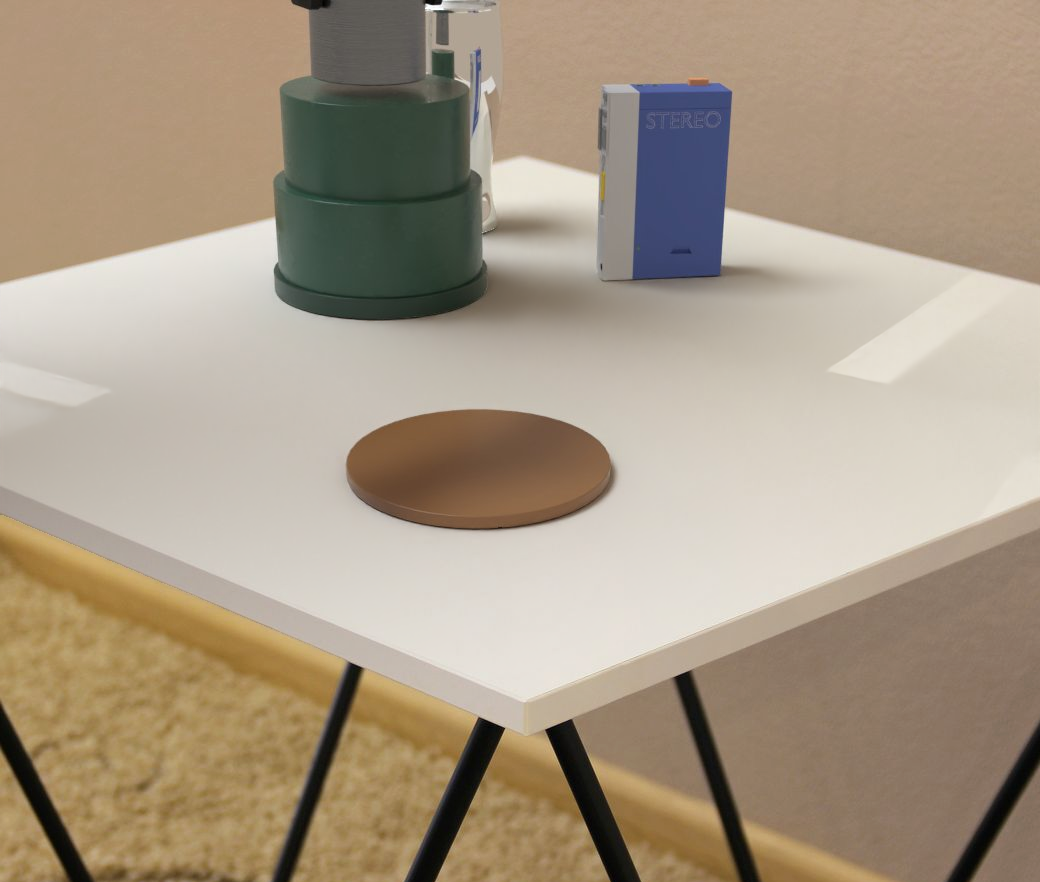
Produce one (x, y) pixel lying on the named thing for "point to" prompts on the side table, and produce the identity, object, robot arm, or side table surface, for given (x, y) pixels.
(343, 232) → the green tiered cylinder
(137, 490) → the side table surface
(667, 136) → the walkman
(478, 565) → the side table surface
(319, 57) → the steel cup
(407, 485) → the cork coaster
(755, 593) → the side table surface
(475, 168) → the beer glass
